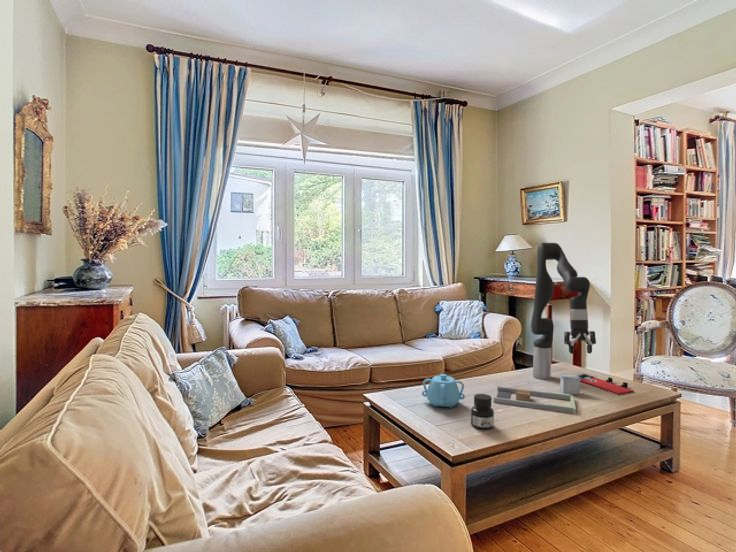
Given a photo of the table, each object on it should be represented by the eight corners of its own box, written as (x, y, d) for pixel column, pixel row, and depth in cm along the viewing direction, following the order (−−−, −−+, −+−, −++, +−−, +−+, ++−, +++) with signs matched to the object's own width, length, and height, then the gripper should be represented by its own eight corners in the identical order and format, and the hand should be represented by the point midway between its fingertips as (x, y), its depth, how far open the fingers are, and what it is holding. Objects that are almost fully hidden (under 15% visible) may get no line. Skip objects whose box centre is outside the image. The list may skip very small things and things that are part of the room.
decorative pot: (418, 400, 196) (418, 372, 195) (446, 395, 203) (446, 367, 203) (439, 412, 182) (439, 382, 181) (468, 406, 189) (468, 377, 188)
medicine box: (576, 391, 209) (576, 374, 208) (579, 394, 205) (580, 377, 204) (559, 391, 210) (560, 374, 209) (563, 394, 205) (563, 377, 205)
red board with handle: (587, 375, 238) (567, 378, 232) (587, 370, 237) (568, 373, 232) (638, 392, 210) (618, 396, 204) (639, 386, 210) (618, 391, 204)
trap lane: (497, 390, 211) (497, 385, 211) (572, 399, 198) (573, 394, 198) (493, 402, 194) (493, 397, 194) (575, 413, 181) (575, 408, 181)
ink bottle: (472, 430, 164) (472, 400, 163) (468, 420, 173) (468, 392, 172) (497, 430, 164) (497, 400, 163) (491, 421, 172) (492, 393, 172)
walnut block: (516, 397, 202) (517, 389, 201) (530, 398, 199) (530, 390, 199) (516, 401, 196) (516, 392, 196) (529, 403, 194) (529, 394, 194)
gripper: (588, 318, 201) (590, 352, 200) (560, 318, 200) (561, 353, 199) (598, 319, 194) (600, 354, 192) (569, 319, 192) (570, 354, 191)
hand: (580, 353), depth 196 cm, fingers open, 8 cm apart
